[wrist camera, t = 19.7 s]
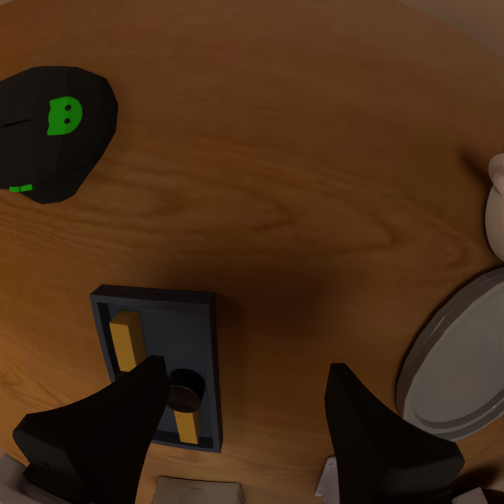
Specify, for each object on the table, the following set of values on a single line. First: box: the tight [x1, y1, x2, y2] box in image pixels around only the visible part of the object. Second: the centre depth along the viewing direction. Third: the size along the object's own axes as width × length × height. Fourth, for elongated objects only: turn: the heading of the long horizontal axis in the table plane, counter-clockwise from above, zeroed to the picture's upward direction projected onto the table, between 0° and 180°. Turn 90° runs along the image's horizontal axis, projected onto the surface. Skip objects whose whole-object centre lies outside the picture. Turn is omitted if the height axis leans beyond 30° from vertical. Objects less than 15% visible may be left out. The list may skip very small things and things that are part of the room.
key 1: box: [167, 369, 206, 444], centre depth 23 cm, size 7×3×2 cm, turn 179°
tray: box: [90, 285, 223, 453], centre depth 23 cm, size 16×9×2 cm, turn 179°
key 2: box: [109, 310, 147, 381], centre depth 22 cm, size 7×3×2 cm, turn 179°
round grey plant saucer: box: [396, 267, 504, 442], centre depth 21 cm, size 19×19×3 cm
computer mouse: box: [0, 66, 118, 204], centre depth 17 cm, size 11×16×4 cm
